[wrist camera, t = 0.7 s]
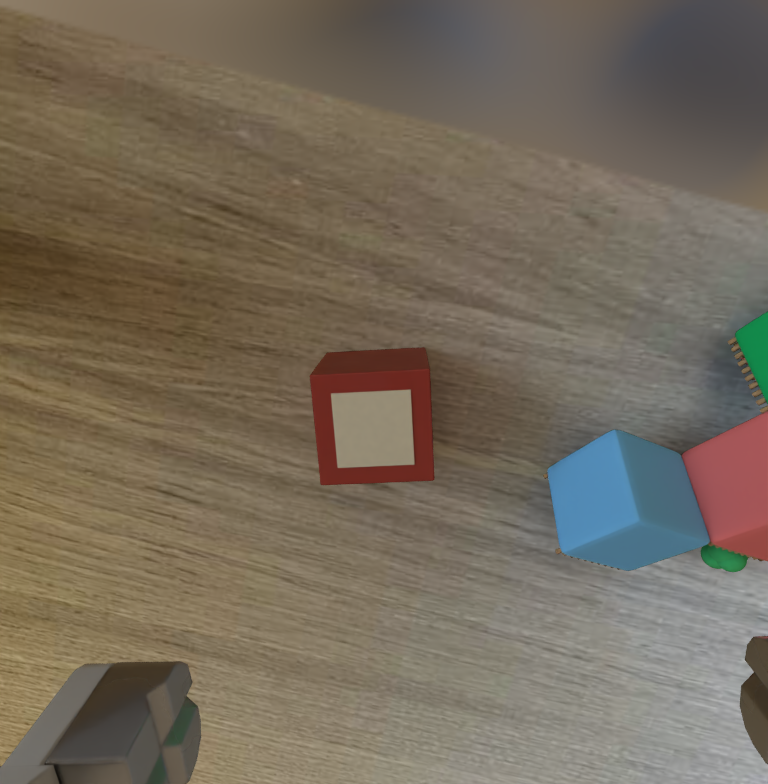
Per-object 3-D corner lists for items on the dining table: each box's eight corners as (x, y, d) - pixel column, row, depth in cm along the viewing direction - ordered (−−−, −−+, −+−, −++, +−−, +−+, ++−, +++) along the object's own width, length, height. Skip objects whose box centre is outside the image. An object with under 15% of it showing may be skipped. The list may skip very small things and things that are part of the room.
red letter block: (326, 352, 24) (309, 375, 20) (425, 346, 24) (430, 369, 20) (334, 445, 25) (320, 486, 21) (429, 440, 25) (434, 481, 21)
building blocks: (895, 415, 13) (552, 557, 22) (1040, 494, 16) (688, 591, 25) (767, 219, 18) (528, 400, 26) (898, 308, 21) (644, 444, 29)
